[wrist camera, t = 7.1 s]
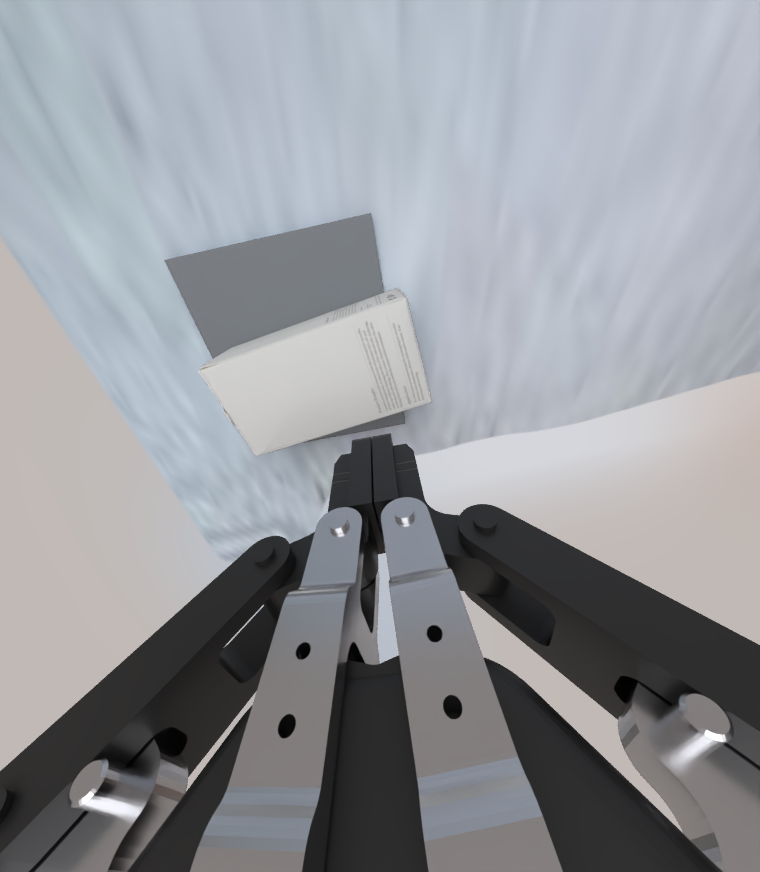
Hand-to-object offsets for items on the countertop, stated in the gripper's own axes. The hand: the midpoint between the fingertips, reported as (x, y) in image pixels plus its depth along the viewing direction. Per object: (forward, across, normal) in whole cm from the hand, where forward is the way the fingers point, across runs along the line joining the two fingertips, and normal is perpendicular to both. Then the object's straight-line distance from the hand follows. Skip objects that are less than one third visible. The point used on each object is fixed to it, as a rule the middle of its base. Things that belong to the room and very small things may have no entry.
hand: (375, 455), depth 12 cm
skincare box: (+14, -4, 0) cm, 15 cm away
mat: (+18, +6, 0) cm, 19 cm away
